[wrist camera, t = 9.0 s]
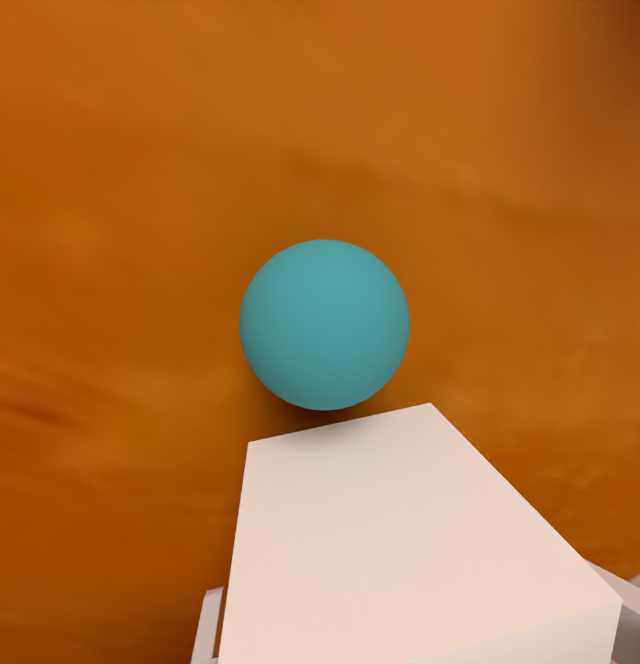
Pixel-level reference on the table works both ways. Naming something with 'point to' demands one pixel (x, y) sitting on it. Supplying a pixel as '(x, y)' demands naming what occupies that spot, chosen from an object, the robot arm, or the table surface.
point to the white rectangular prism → (402, 556)
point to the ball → (324, 324)
